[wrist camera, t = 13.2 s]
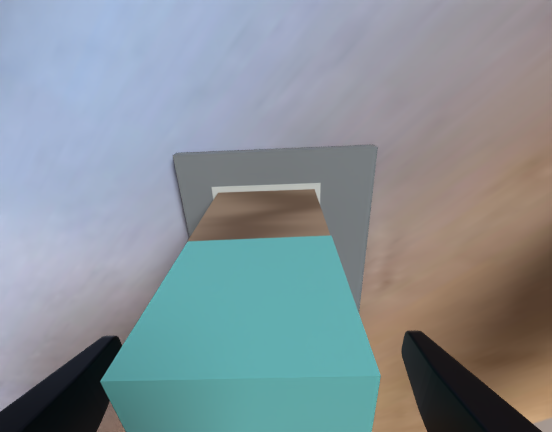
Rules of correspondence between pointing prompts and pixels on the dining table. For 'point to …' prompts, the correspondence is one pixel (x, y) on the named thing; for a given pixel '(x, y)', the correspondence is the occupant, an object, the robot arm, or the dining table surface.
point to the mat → (292, 176)
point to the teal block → (248, 344)
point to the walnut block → (262, 216)
